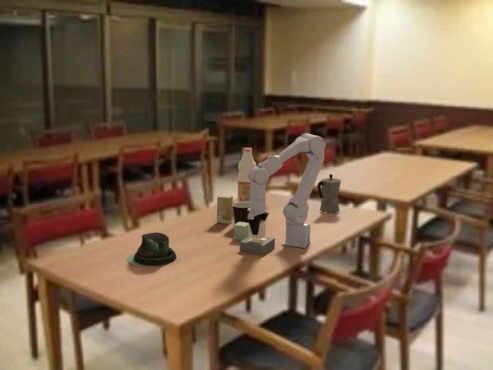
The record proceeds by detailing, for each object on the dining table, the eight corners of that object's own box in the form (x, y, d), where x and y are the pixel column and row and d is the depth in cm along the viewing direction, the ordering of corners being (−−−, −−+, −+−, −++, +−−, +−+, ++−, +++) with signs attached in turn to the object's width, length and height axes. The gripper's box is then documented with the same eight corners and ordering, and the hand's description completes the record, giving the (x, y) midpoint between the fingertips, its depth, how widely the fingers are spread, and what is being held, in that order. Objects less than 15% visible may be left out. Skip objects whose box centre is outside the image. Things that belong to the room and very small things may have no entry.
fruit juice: (233, 203, 294) (233, 148, 287) (247, 200, 300) (247, 146, 294) (246, 207, 287) (247, 150, 281) (260, 203, 293) (260, 148, 287)
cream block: (265, 235, 227) (265, 220, 226) (260, 239, 223) (260, 224, 221) (253, 234, 229) (253, 219, 228) (248, 237, 225) (248, 222, 223)
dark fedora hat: (186, 251, 225) (185, 228, 223) (176, 270, 206) (175, 245, 204) (135, 249, 227) (135, 226, 225) (121, 268, 207) (120, 243, 205)
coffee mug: (239, 223, 260) (239, 201, 258) (256, 226, 256) (256, 204, 254) (224, 230, 251) (224, 207, 248) (242, 233, 246) (242, 210, 244)
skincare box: (216, 223, 260) (216, 196, 258) (219, 220, 264) (219, 194, 262) (230, 224, 259) (230, 197, 256) (233, 221, 263) (233, 195, 260)
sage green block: (250, 237, 242) (250, 223, 240) (245, 240, 237) (245, 226, 236) (238, 235, 243) (239, 221, 242) (233, 239, 239) (233, 224, 238)
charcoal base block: (274, 248, 229) (274, 238, 228) (262, 256, 221) (263, 245, 220) (252, 244, 234) (252, 234, 233) (239, 251, 225) (239, 241, 224)
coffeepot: (331, 206, 289) (333, 171, 285) (346, 210, 282) (347, 174, 277) (309, 212, 279) (310, 175, 275) (324, 216, 272) (325, 178, 268)
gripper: (255, 193, 231) (255, 226, 234) (240, 201, 218) (240, 236, 221) (272, 195, 228) (271, 228, 231) (258, 203, 215) (257, 239, 218)
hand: (257, 232), depth 226 cm, fingers closed on cream block, 5 cm apart
